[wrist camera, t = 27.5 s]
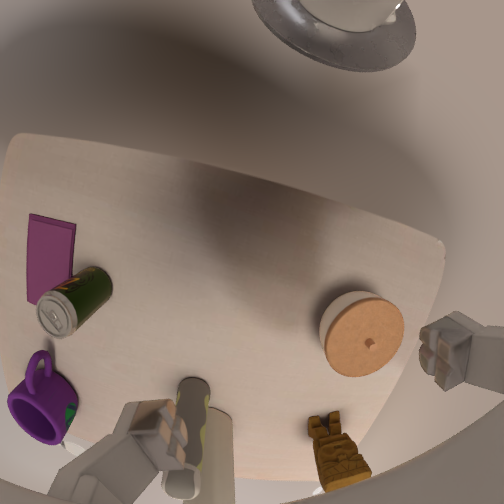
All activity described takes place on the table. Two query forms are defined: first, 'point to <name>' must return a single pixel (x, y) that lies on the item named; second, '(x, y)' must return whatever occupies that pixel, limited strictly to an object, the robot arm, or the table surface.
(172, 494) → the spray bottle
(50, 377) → the mug
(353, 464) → the wooden tiki figurine
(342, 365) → the trinket box
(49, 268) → the flat purple rectangular slab
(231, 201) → the table surface
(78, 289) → the beer can
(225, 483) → the paper towel roll
